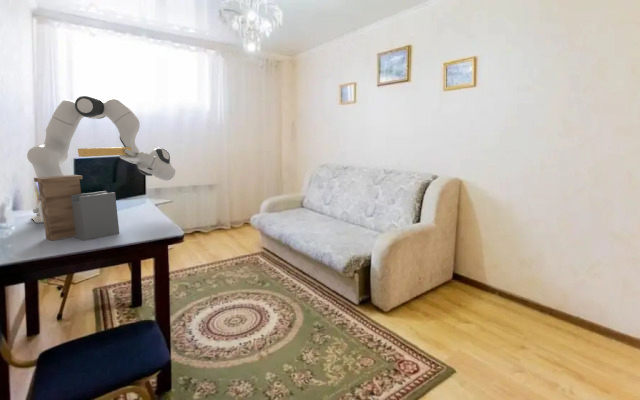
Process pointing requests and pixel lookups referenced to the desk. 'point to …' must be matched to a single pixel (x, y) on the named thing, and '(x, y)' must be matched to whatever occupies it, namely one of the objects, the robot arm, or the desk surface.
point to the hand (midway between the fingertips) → (121, 150)
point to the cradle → (95, 215)
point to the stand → (58, 204)
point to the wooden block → (102, 151)
